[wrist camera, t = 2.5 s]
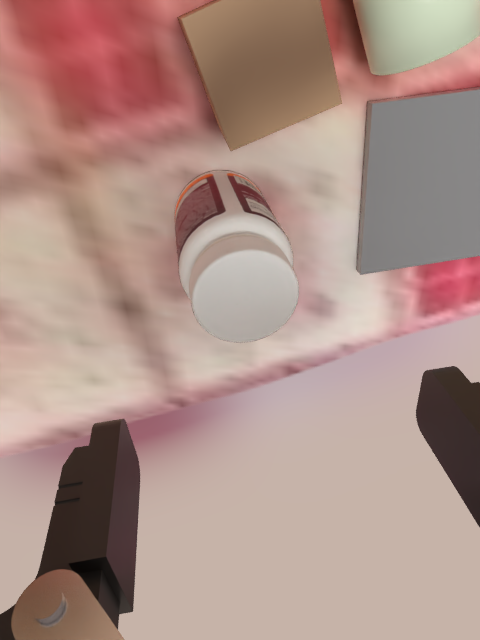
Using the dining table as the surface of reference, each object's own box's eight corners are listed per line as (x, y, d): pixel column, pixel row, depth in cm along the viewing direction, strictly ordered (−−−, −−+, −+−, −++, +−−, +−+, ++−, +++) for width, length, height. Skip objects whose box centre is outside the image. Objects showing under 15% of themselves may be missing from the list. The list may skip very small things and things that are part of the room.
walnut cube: (177, 17, 18) (181, 19, 15) (280, -31, 18) (311, -42, 14) (218, 126, 21) (230, 151, 17) (309, 86, 20) (342, 103, 17)
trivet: (367, 101, 21) (372, 103, 21) (547, 77, 22) (556, 79, 21) (356, 269, 26) (360, 274, 26) (502, 246, 27) (508, 251, 26)
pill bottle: (181, 261, 24) (189, 359, 18) (167, 173, 22) (170, 249, 15) (267, 251, 25) (308, 342, 18) (264, 163, 22) (311, 231, 15)
